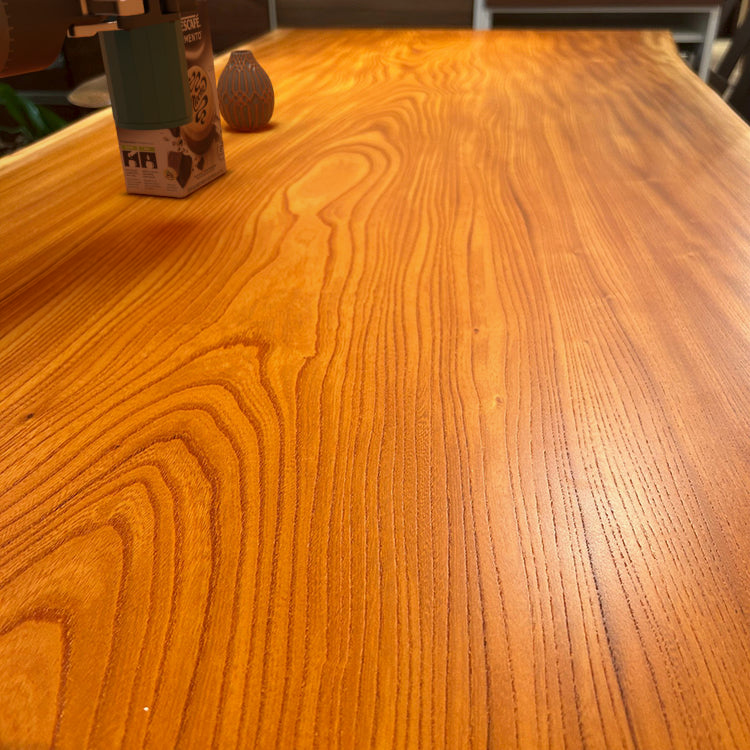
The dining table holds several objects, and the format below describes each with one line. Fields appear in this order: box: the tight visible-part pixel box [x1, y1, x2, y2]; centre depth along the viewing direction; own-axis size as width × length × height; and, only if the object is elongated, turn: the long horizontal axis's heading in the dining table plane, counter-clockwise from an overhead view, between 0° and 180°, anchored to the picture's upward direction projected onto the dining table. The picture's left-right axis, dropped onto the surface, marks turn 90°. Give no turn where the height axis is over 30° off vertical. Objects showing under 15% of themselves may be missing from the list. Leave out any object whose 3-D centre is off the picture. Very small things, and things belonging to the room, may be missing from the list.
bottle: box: [97, 15, 193, 130], centre depth 56 cm, size 6×6×17 cm
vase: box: [216, 49, 276, 132], centre depth 93 cm, size 7×7×9 cm
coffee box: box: [114, 0, 227, 199], centre depth 72 cm, size 9×6×16 cm
